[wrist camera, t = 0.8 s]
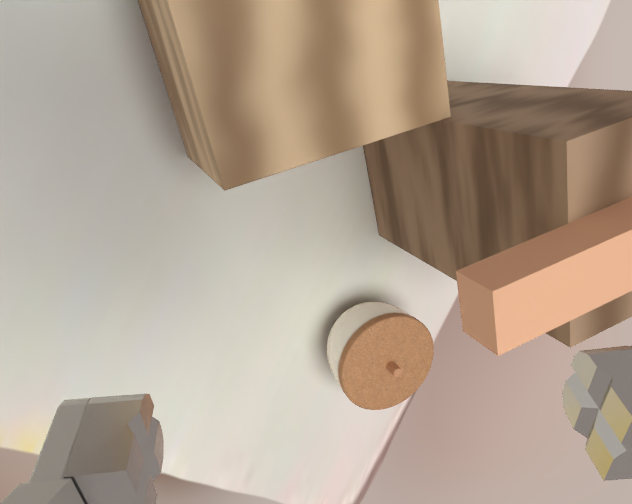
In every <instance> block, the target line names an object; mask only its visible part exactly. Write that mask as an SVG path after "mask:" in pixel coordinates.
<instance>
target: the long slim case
mask: <svg viewBox="0 0 632 504" xmlns="http://www.w3.org/2000/svg"><path fill="white" fill-rule="evenodd" d="M456 276H457V285H458V293H459V302H460V310H461V318H462V327H463V331H464V332H465V333H467V334H468V335H469V336H471V337H472V338H473V339H475V340H476V341H478V342H479V343H481V344H482V345H483V346H485V347H486V348H488V349H489V350H490V351H492V352H493V353H495V354H496V355H498V356H499V355H501V354H503V353H505V352H507V351H509V350H511V349H513V348H515V347H517V346H520V345H522V344H524V343H526V342H528V341H530V340H532V339H534V338H536V337H538V336H540V335H542V334H544V333H546V332H548V331H550V330H552V329H554V328H557V327H559V326H561V325H563V324H565V323H567V322H569V321H571V320H573V319H575V318H577V317H579V316H581V315H583V314H585V313H587V312H589V311H591V310H593V309H595V308H598V307H600V306H602V305H604V304H606V303H608V302H610V301H612V300H614V299H616V298H618V297H620V296H622V295H624V294H626V293H628V292H630V291H632V197H630V198H628V199H625V200H623V201H620V202H618V203H616V204H613V205H611V206H609V207H606V208H604V209H602V210H599V211H597V212H594V213H592V214H590V215H587V216H585V217H583V218H580V219H578V220H575V221H573V222H571V223H568V224H566V225H564V226H561V227H559V228H557V229H554V230H552V231H549V232H547V233H545V234H542V235H540V236H538V237H535V238H533V239H530V240H528V241H526V242H523V243H521V244H519V245H516V246H514V247H512V248H509V249H507V250H504V251H502V252H500V253H497V254H495V255H493V256H490V257H488V258H486V259H483V260H481V261H478V262H476V263H474V264H471V265H469V266H467V267H464V268H462V269H459V270H457V271H456Z"/></svg>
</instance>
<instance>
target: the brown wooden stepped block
mask: <svg viewBox="0 0 632 504" xmlns="http://www.w3.org/2000/svg"><path fill="white" fill-rule="evenodd" d="M138 3H139V6H140V9H141V12H142V15H143V18H144V21H145V24H146V27H147V31H148V34H149V37H150V40H151V43H152V46H153V49H154V52H155V55H156V58H157V62H158V65H159V68H160V71H161V74H162V77H163V80H164V83H165V86H166V89H167V93H168V96H169V99H170V102H171V105H172V108H173V111H174V114H175V117H176V120H177V124H178V127H179V130H180V133H181V136H182V139H183V142H184V145H185V148H186V151H187V155H188V157H189V158H190V159H191V160H192V161H193V162H194V163H195V164H196V165H197V166H199V167H200V168H201V169H202V170H203V171H204V172H205V173H206V174H207V175H208V176H210V177H211V178H212V179H213V180H214V181H215V182H216V183H217V184H218V185H219V186H220V187H222V188H223V189H224V190H228V189H231V188H234V187H237V186H240V185H243V184H246V183H249V182H252V181H255V180H258V179H261V178H264V177H267V176H271V175H274V174H277V173H280V172H283V171H286V170H289V169H292V168H295V167H298V166H301V165H304V164H307V163H310V162H313V161H317V160H320V159H323V158H326V157H329V156H332V155H335V154H338V153H341V152H344V151H347V150H350V149H353V148H356V147H359V146H363V147H364V153H365V158H366V164H367V170H368V175H369V181H370V186H371V192H372V197H373V203H374V208H375V214H376V220H377V225H378V231H379V235H380V236H381V237H383V238H385V239H386V240H388V241H390V242H392V243H393V244H395V245H397V246H398V247H400V248H402V249H403V250H405V251H407V252H409V253H410V254H412V255H414V256H415V257H417V258H419V259H421V260H422V261H424V262H426V263H427V264H429V265H431V266H432V267H434V268H436V269H438V270H439V271H441V272H443V273H444V274H446V275H448V276H449V277H451V278H453V279H455V280H456V281H457V276H456V271H457V270H459V269H462V268H464V267H467V266H469V265H471V264H474V263H476V262H478V261H481V260H483V259H486V258H488V257H490V256H493V255H495V254H497V253H500V252H502V251H504V250H507V249H509V248H512V247H514V246H516V245H519V244H521V243H523V242H526V241H528V240H530V239H533V238H535V237H538V236H540V235H542V234H545V233H547V232H549V231H552V230H554V229H557V228H559V227H561V226H564V225H566V224H568V223H571V222H573V221H575V220H578V219H580V218H583V217H585V216H587V215H590V214H592V213H594V212H597V211H599V210H602V209H604V208H606V207H609V206H611V205H613V204H616V203H618V202H620V201H623V200H625V199H628V198H630V197H632V91H623V90H622V91H621V90H604V89H603V90H602V89H584V88H567V87H549V86H530V85H512V84H493V83H475V82H456V81H447V76H446V67H445V58H444V49H443V39H442V30H441V21H440V11H439V2H438V0H138ZM631 316H632V291H630V292H628V293H626V294H624V295H622V296H620V297H618V298H616V299H614V300H612V301H610V302H608V303H606V304H604V305H602V306H600V307H598V308H595V309H593V310H591V311H589V312H587V313H585V314H583V315H581V316H579V317H577V318H575V319H573V320H571V321H569V322H567V323H565V324H563V325H561V326H559V327H557V328H554V329H552V330H550V331H548V332H546V334H548V335H550V336H552V337H553V338H555V339H557V340H558V341H560V342H562V343H563V344H565V345H567V346H569V347H572V346H574V345H576V344H578V343H580V342H582V341H584V340H586V339H588V338H590V337H592V336H594V335H596V334H598V333H600V332H602V331H604V330H606V329H608V328H610V327H612V326H614V325H616V324H618V323H620V322H622V321H624V320H626V319H628V318H630V317H631Z"/></svg>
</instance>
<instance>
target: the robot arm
mask: <svg viewBox="0 0 632 504" xmlns="http://www.w3.org/2000/svg"><path fill="white" fill-rule="evenodd" d="M571 366H572V367H573V369H574V371H575V373H574V374H573V375H572V376H571V377H570V378H568V379H567V380H566V381H565V384H564V388H563V392H562V395H563V396H562V397H563V407H564V410H565V412H566V415H567V418H568V420H569V422H570V423H571V425H572V427H573V429H575V430H576V431H578V432H579V433H581V434H582V435H584V436H585V437H587V442H586V448H585V450H586V451H587V453H588V455H589V456H590V458H591V460H592V461H593V463H594V465H595V466H596V468H597V470H598V471H599V473H600V475H601V476H602V479H603V480H617V479H630V478H632V346H621V347H612V348H603V349H595V350H594V349H593V350H584V351H579V352H578V353H577V354H576V355H574V358H573V360H572V363H571ZM153 409H154V404H153V402H152V399H151V397H150V394H136V395H122V396H107V397H93V398H84V399H72V400H64V401H63V402H62V403H61V405H60V406H59V407H58V408H57V411H56V413H55V416H54V419H53V421H52V424H51V426H50V429H49V432H48V434H47V437H46V439H45V442H44V445H43V447H42V450H41V452H40V455H39V458H38V460H37V463H36V465H35V468H34V471H33V473H32V476H31V478H30V481H29V482H27V483H20V484H19V485H18V486H17V487H16V488H15V489H14V490H13V491H12V492H11V493H10V494H9V495H8V496H7V497H5V498H4V499H3V500H2V501H1V502H0V504H156V500H157V492H156V489H155V487H154V484H153V481H154V479H155V478H156V477H157V476H158V475H159V474H160V472H161V469H162V462H163V434H162V429H161V426H160V422H159V421H158V420H156V419H155V418H153V417H152V414H153Z"/></svg>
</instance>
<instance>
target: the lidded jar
mask: <svg viewBox="0 0 632 504" xmlns="http://www.w3.org/2000/svg"><path fill="white" fill-rule="evenodd" d="M327 358H328V362H329V365H330V368H331V371H332V373H333V375H334V377H335V379H336V380H337V382H338V383H339V385H340V386H341V387H342V390H343V391H344V393H345V394H346V395H347V397H348V398H349V399H350V400H351V401H352V402H353V403H354V404H356V405H357V406H359V407H362V408H365V409H370V410H380V409H386V408H389V407H392V406H395V405H397V404H399V403H401V402H403V401H404V400H406V399H407V398H408V397H410V396H411V395H412V394H413V393H414V392H415V391H416V390H417V389H418V388H419V387H420V385H421V384H422V383H423V381H424V380H425V378H426V376H427V374H428V372H429V370H430V368H431V364H432V360H433V340H432V337H431V334H430V332H429V331H428V329H427V328H426V327H425V325H424V324H423V323H421V322H420V321H419V320H417V319H416V318H415V317H413V316H410V315H409V314H408V313H406V312H405V311H403V310H401V309H399V308H397V307H395V306H393V305H390V304H387V303H383V302H365V303H361V304H358V305H355V306H353V307H351V308H350V309H348V310H347V311H345V312H344V313H343V314H342V315H341V316H340V317H339V318H338V319H337V320H336V322H335V323H334V325H333V327H332V328H331V331H330V333H329V337H328V341H327Z"/></svg>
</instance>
